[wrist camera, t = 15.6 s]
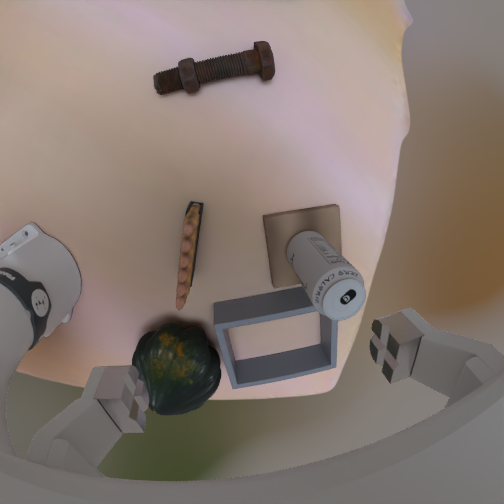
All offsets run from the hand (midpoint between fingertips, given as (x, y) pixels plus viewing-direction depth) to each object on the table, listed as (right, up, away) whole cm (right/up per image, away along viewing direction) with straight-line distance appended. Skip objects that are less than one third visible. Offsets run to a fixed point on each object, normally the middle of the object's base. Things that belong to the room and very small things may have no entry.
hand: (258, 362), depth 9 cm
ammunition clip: (-9, +6, +32) cm, 34 cm away
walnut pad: (+8, +5, +34) cm, 35 cm away
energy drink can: (+8, +4, +33) cm, 34 cm away
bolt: (-5, +28, +24) cm, 37 cm away
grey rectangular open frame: (+4, -9, +39) cm, 40 cm away
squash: (-13, -13, +39) cm, 43 cm away
